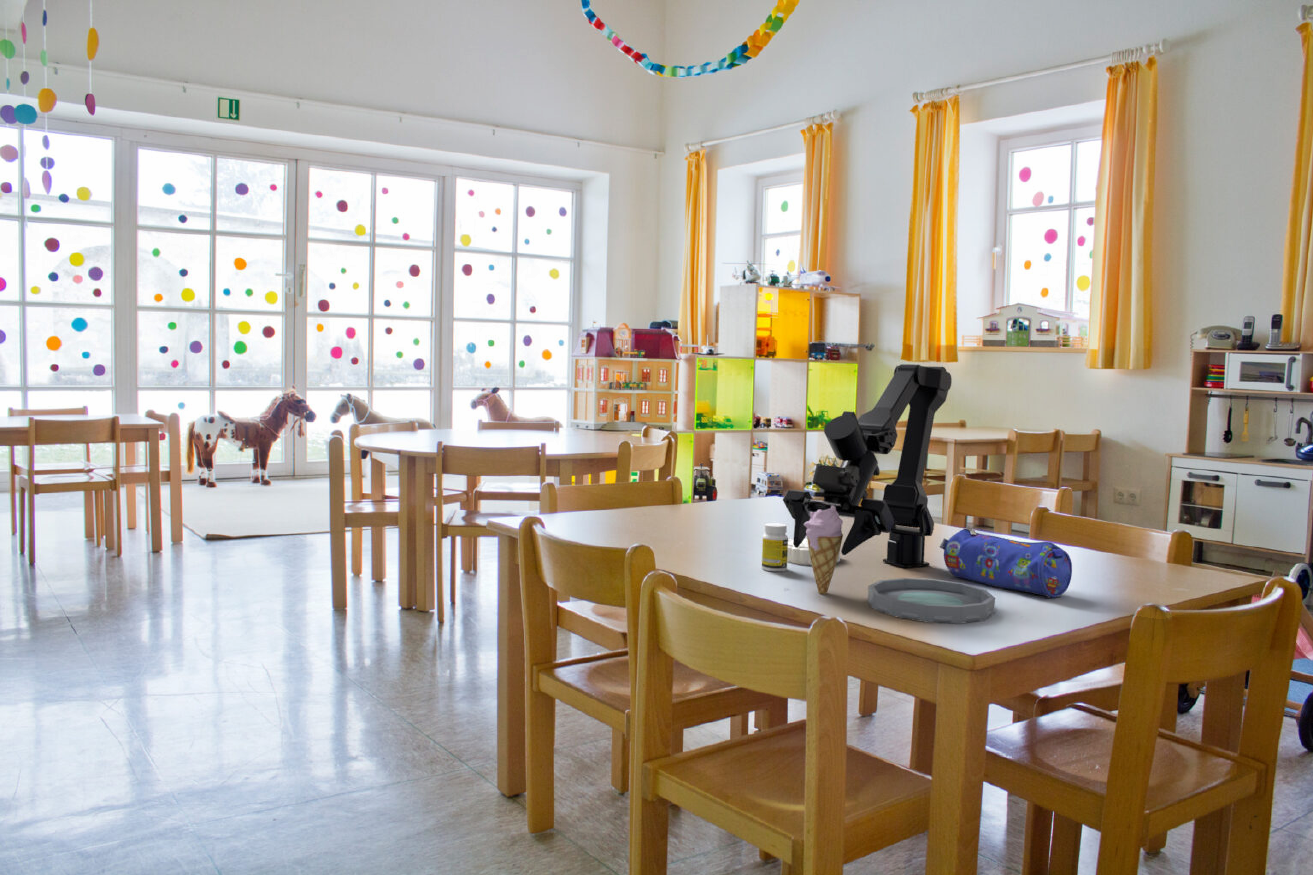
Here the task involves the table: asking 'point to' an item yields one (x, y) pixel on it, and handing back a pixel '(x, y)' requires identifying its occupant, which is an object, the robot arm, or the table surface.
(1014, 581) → the pencil case
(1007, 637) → the table surface
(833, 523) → the ice cream cone
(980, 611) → the round tray
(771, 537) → the supplement bottle
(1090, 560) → the table surface
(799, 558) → the mooncake
